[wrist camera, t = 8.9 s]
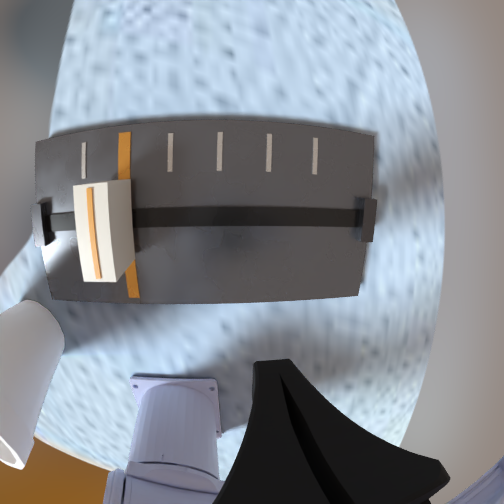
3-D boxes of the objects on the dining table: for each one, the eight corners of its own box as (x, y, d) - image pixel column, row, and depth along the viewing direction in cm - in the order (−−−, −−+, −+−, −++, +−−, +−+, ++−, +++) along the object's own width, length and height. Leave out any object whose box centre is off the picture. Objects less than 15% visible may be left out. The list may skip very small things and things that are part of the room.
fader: (135, 258, 16) (115, 282, 12) (107, 258, 16) (83, 282, 12) (130, 178, 15) (106, 182, 11) (101, 181, 14) (72, 185, 11)
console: (351, 289, 21) (362, 300, 19) (58, 293, 18) (47, 304, 16) (365, 137, 18) (380, 135, 16) (44, 142, 14) (29, 141, 12)
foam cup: (69, 292, 18) (-22, 400, 6) (88, 377, 20) (45, 484, 8) (-4, 277, 16) (-88, 346, 4) (19, 356, 19) (-35, 435, 7)
